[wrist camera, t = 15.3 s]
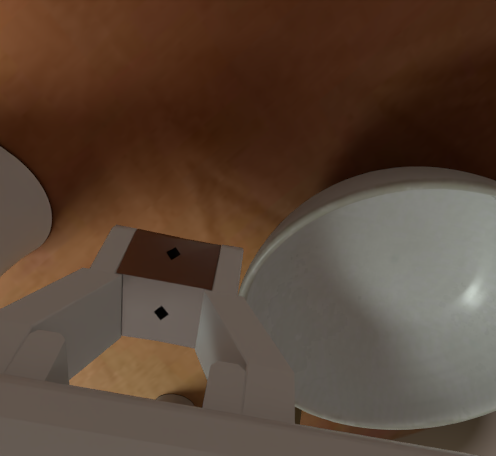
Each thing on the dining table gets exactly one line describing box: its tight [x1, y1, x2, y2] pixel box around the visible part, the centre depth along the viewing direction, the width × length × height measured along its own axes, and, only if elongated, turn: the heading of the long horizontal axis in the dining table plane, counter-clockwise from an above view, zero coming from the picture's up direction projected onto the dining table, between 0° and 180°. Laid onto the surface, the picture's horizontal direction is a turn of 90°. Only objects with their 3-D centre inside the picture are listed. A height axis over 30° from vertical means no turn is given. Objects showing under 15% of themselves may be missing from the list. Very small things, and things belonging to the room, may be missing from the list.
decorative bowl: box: [238, 167, 496, 430], centre depth 41 cm, size 27×27×12 cm
